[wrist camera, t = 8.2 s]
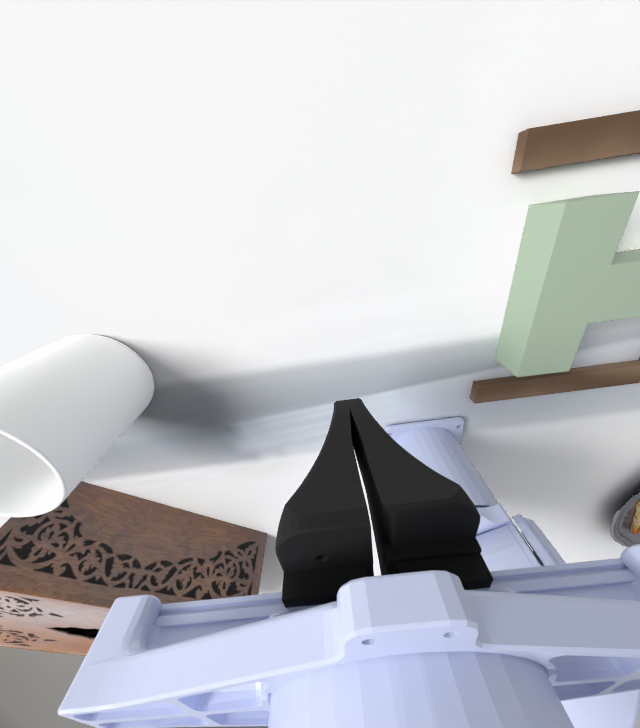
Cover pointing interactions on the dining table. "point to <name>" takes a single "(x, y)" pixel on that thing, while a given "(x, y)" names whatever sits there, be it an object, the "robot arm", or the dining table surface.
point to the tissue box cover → (113, 565)
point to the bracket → (556, 150)
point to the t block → (568, 281)
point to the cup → (64, 417)
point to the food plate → (627, 523)
